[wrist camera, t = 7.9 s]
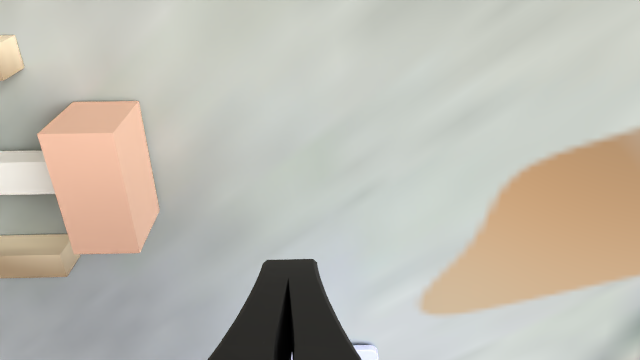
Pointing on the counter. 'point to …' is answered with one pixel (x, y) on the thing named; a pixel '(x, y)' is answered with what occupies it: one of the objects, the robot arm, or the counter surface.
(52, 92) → the counter surface
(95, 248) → the peach and white mallet
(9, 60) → the channel
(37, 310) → the counter surface
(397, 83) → the counter surface
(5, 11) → the counter surface
